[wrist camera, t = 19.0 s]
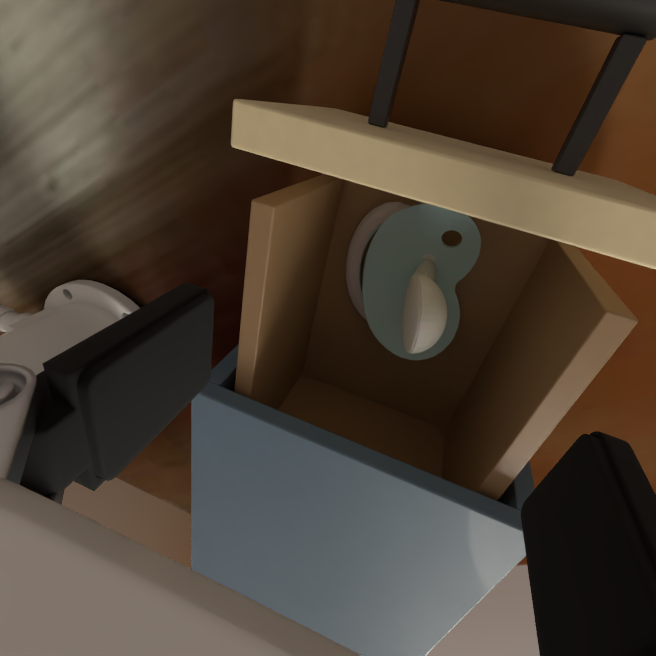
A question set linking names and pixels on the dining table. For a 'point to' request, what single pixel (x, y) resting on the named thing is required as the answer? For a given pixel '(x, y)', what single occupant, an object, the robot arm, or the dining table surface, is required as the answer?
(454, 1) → the drawer
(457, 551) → the cabinet
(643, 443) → the dining table surface
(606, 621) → the robot arm
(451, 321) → the pacifier
